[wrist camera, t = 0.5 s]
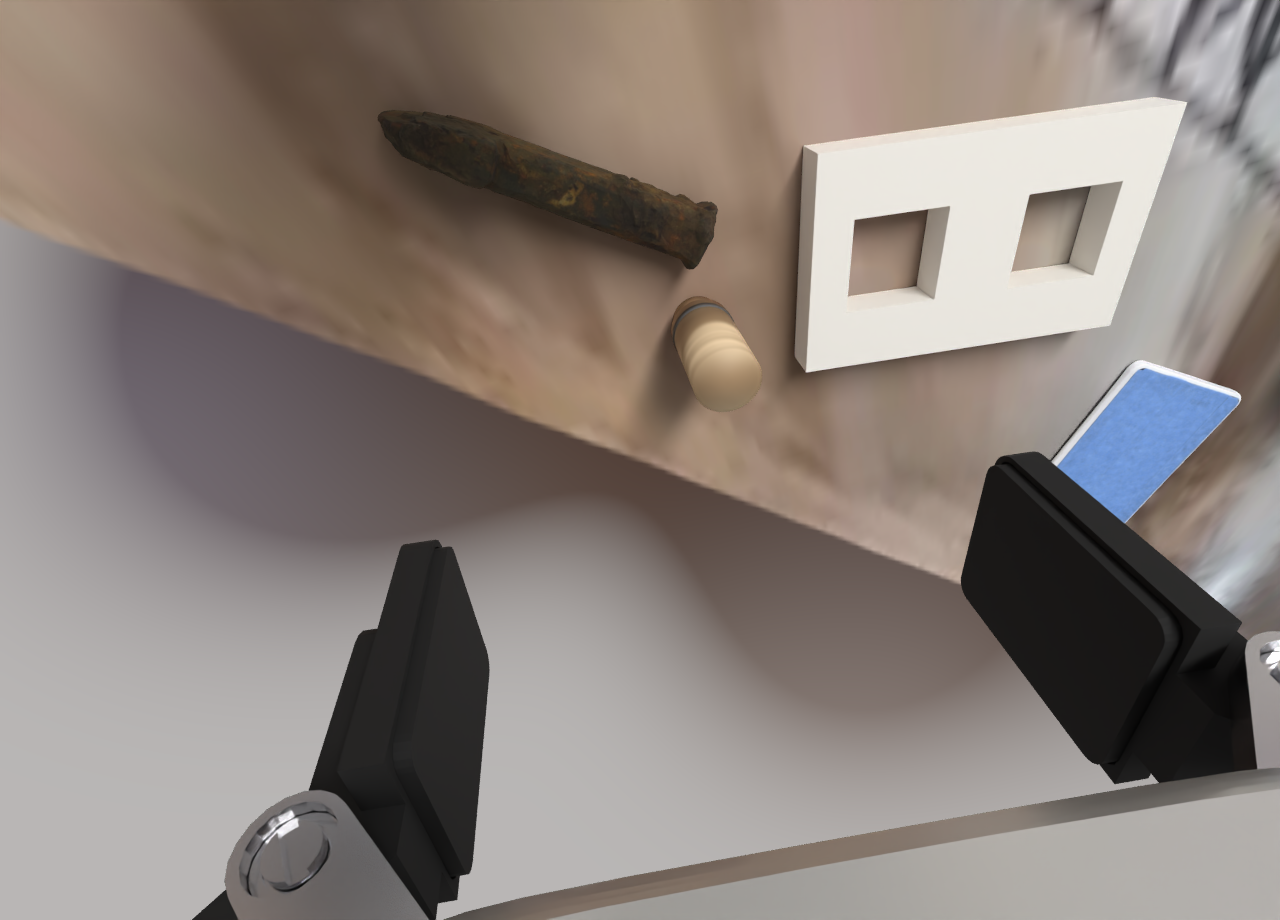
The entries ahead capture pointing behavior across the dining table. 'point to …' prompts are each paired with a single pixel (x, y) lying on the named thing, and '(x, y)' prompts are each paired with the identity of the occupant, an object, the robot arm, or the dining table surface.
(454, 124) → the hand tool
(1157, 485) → the tablet computer
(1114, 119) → the hole board
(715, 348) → the oak peg
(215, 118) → the dining table surface
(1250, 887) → the robot arm
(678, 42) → the dining table surface
